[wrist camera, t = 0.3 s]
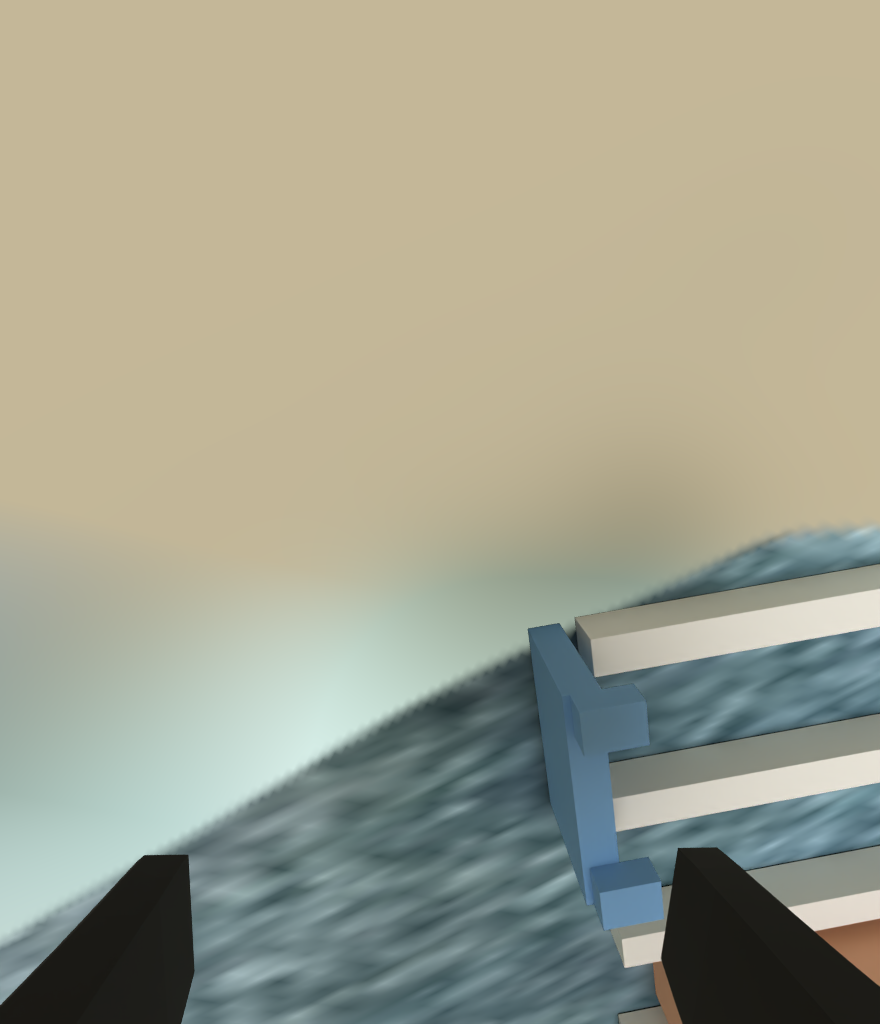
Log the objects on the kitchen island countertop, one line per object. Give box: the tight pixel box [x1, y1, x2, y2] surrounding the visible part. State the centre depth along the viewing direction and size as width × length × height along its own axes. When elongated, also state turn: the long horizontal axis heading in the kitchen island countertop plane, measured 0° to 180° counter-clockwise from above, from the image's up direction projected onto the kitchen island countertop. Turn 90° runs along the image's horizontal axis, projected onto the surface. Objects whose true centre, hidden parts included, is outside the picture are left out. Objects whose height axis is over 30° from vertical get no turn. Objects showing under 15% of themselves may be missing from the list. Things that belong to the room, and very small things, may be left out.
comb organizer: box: [575, 564, 880, 1024], centre depth 20 cm, size 17×13×2 cm
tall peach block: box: [653, 919, 880, 1024], centre depth 20 cm, size 3×9×4 cm, turn 99°
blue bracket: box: [528, 623, 664, 931], centre depth 17 cm, size 6×2×5 cm, turn 9°
